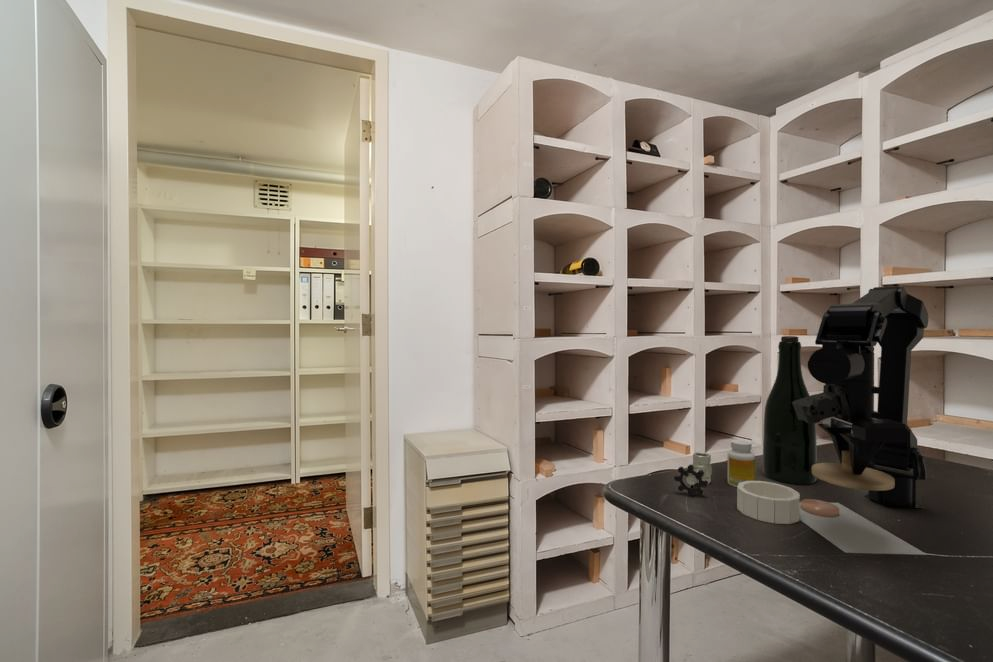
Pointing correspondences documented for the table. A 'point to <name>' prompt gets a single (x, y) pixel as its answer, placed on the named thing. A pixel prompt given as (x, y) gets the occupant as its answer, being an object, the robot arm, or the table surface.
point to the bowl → (768, 502)
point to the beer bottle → (788, 422)
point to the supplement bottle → (740, 463)
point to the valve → (696, 474)
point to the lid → (852, 475)
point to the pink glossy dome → (819, 508)
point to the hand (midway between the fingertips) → (851, 471)
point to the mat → (856, 533)
